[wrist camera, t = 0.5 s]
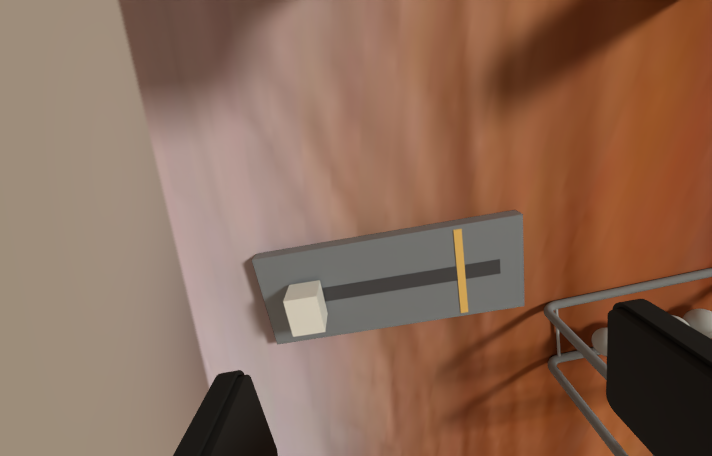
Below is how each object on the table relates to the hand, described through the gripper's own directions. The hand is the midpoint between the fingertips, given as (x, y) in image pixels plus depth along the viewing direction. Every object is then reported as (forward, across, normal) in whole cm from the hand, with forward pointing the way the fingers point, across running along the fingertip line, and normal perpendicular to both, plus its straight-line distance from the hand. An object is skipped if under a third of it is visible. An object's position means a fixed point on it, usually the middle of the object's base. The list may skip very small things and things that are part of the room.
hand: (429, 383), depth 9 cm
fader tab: (+32, +11, +13) cm, 36 cm away
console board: (+34, 0, +14) cm, 37 cm away
